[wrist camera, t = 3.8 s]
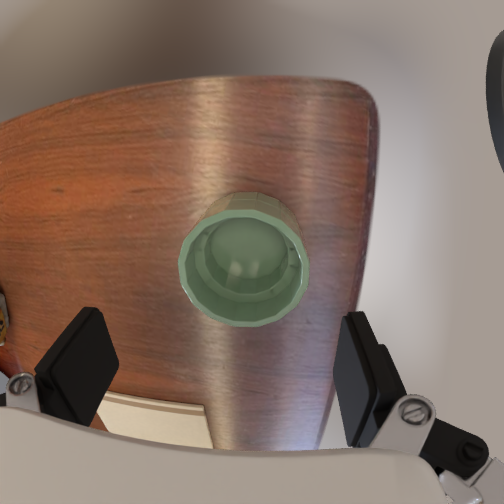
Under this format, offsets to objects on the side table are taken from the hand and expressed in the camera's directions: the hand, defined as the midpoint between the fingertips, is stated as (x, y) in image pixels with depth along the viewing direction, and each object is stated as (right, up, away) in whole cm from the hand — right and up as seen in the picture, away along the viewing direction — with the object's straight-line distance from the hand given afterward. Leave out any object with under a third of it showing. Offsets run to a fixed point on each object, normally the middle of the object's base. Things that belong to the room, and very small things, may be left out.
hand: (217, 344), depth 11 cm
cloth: (-10, -18, +19) cm, 28 cm away
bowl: (+1, +4, +9) cm, 10 cm away
